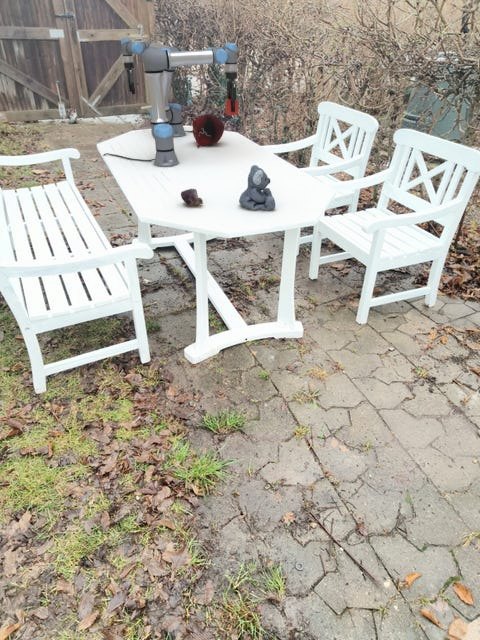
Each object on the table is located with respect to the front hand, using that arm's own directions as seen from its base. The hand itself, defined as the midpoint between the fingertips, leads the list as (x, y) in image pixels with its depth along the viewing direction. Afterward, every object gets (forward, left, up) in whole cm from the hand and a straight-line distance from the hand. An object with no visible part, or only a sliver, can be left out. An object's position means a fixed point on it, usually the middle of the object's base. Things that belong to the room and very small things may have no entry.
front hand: (231, 111), depth 300 cm
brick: (0, 0, -2) cm, 2 cm away
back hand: (-107, -3, +2) cm, 107 cm away
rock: (+55, -89, -27) cm, 108 cm away
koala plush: (+81, -68, -27) cm, 109 cm away
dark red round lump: (-31, +7, -27) cm, 42 cm away
